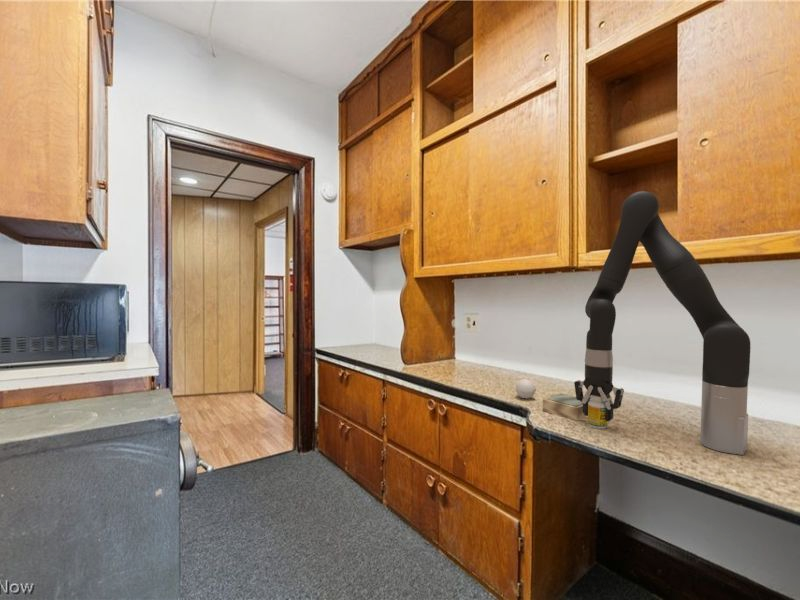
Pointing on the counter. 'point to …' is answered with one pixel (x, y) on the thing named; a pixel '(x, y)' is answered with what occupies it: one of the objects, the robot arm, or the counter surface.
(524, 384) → the white egg shape
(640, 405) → the counter surface
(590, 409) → the supplement bottle
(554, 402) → the oak riser
